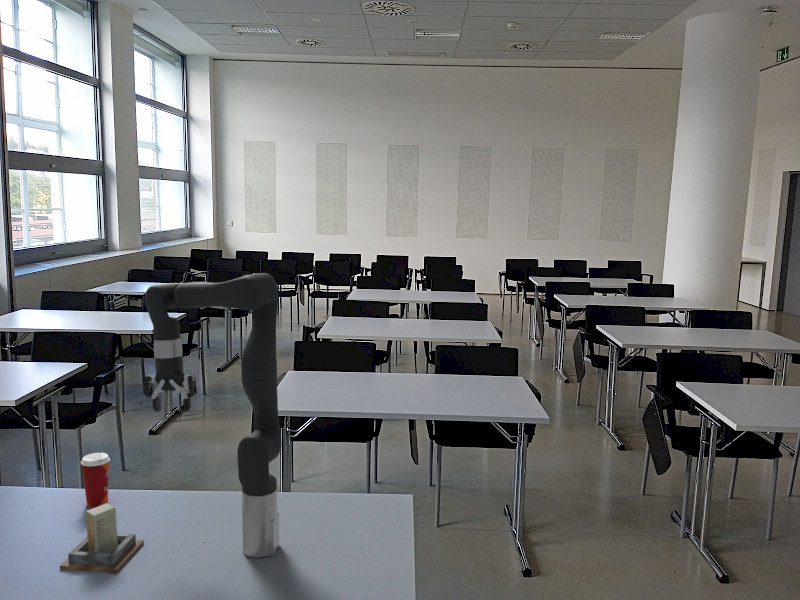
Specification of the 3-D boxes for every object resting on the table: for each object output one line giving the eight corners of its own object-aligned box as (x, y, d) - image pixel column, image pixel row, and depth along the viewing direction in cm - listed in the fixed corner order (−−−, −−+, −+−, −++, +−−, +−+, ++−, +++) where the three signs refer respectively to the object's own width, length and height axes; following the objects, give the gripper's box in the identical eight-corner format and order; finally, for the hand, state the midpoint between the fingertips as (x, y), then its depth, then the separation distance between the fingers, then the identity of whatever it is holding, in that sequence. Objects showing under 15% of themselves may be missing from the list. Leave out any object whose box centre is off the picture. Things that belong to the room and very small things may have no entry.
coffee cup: (116, 502, 208) (114, 456, 206) (89, 511, 202) (87, 464, 200) (104, 494, 213) (102, 449, 211) (78, 502, 207) (75, 456, 205)
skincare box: (110, 544, 180) (108, 502, 179) (118, 550, 178) (116, 506, 176) (86, 554, 175) (84, 510, 174) (95, 559, 173) (93, 515, 171)
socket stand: (143, 543, 184) (143, 531, 183) (116, 573, 169) (116, 560, 168) (91, 540, 185) (90, 528, 184) (59, 569, 170) (59, 556, 169)
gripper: (137, 357, 185) (142, 415, 186) (187, 356, 183) (191, 414, 185) (150, 352, 192) (154, 408, 193) (198, 352, 190) (201, 407, 192)
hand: (172, 411), depth 189 cm, fingers open, 8 cm apart
